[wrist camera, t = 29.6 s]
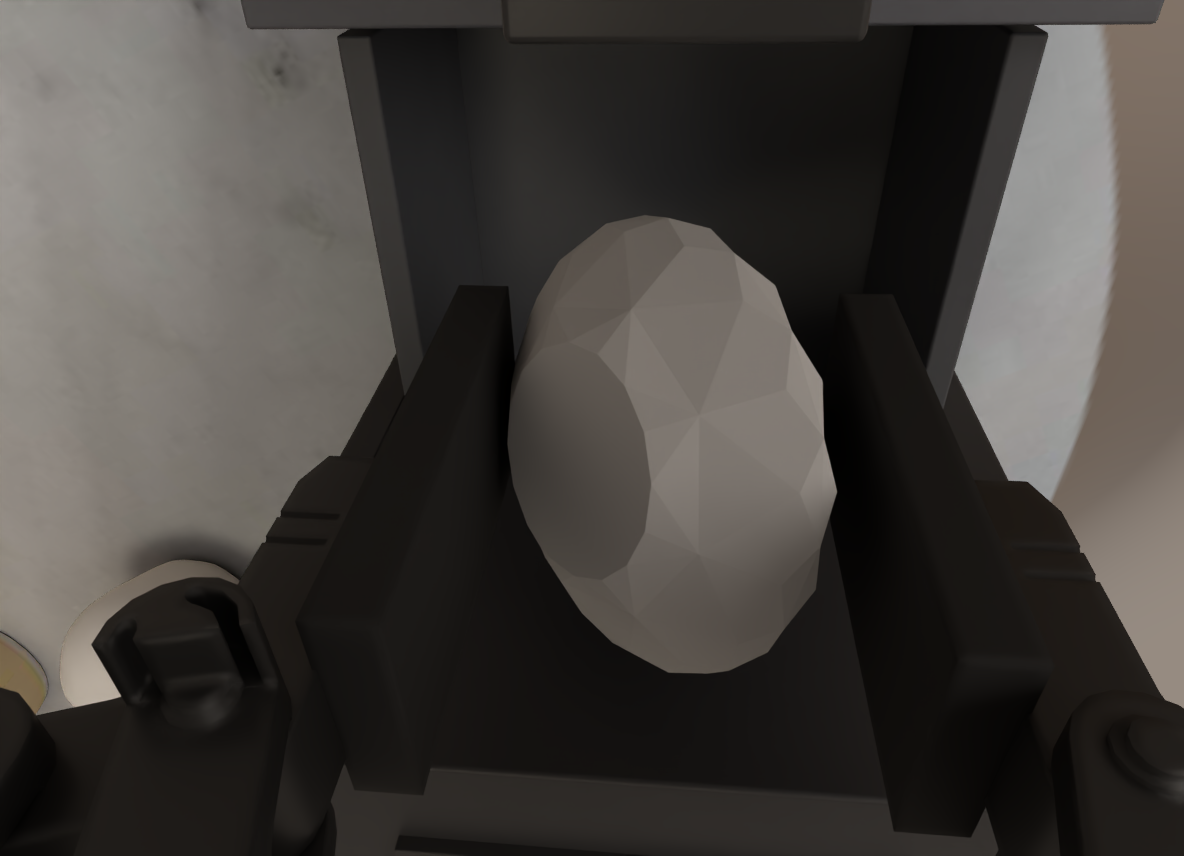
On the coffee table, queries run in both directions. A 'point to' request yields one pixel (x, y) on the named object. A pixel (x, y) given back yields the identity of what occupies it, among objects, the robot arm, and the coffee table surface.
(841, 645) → the box
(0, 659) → the coffee cup
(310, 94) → the coffee table surface
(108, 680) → the plain white apple
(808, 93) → the basket
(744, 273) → the gemstone
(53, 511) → the coffee table surface
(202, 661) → the robot arm
